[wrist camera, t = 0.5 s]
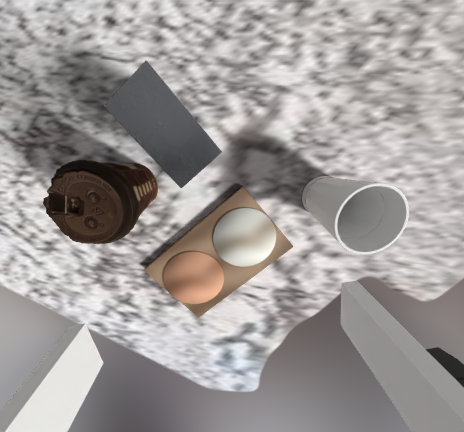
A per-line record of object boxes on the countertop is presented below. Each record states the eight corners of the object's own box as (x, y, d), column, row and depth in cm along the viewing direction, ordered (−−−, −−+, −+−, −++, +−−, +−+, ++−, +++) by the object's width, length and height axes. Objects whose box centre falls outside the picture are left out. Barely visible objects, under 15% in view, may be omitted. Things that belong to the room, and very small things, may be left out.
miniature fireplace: (138, 134, 30) (83, 126, 18) (177, 96, 29) (146, 60, 17) (183, 183, 33) (161, 205, 21) (221, 149, 31) (221, 152, 19)
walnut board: (146, 266, 37) (143, 271, 35) (242, 185, 33) (243, 187, 32) (199, 312, 40) (198, 318, 39) (291, 243, 37) (293, 247, 35)
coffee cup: (93, 178, 32) (13, 198, 19) (135, 142, 31) (76, 139, 18) (136, 222, 34) (89, 265, 22) (176, 190, 33) (150, 217, 21)
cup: (301, 225, 36) (339, 262, 24) (292, 179, 33) (329, 196, 22) (349, 211, 35) (410, 243, 24) (343, 163, 33) (407, 173, 22)
